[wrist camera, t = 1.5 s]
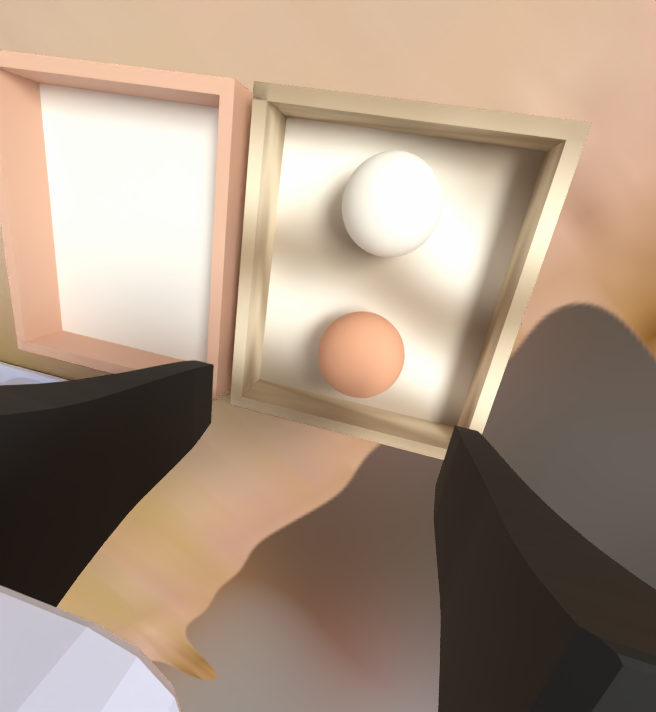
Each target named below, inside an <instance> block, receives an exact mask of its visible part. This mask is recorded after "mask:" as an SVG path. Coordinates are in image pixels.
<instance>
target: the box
mask: <svg viewBox="0 0 656 712" xmlns="http://www.w3.org/2000/svg"><path fill="white" fill-rule="evenodd" d="M591 124H592V122H585V121H577V120H568V119H560V118H552V117H544V116H536V115H527V114H519V113H511V112H503V111H495V110H487V109H478V108H470V107H462V106H454V105H446V104H438V103H429V102H421V101H413V100H405V99H397V98H388V97H380V96H372V95H364V94H356V93H348V92H339V91H331V90H323V89H315V88H307V87H299V86H290V85H282V84H274V83H266V82H258V81H254V88H253V102H252V115H251V128H250V142H249V155H248V168H247V182H246V195H245V209H244V222H243V235H242V249H241V262H240V275H239V289H238V302H237V315H236V329H235V342H234V355H233V369H232V382H231V395H230V404H231V405H235V406H239V407H243V408H246V409H250V410H254V411H258V412H262V413H266V414H269V415H273V416H277V417H281V418H285V419H289V420H292V421H296V422H300V423H304V424H308V425H312V426H315V427H319V428H323V429H327V430H331V431H335V432H338V433H342V434H346V435H350V436H354V437H358V438H361V439H365V440H369V441H373V442H377V443H381V444H384V445H388V446H392V447H396V448H400V449H404V450H407V451H411V452H415V453H419V454H423V455H427V456H430V457H435V458H438V459H442V460H444V458H445V455H446V452H447V448H448V445H449V442H450V439H451V436H452V433H453V430H454V426H455V425H456V426H460V427H464V428H468V429H472V430H476V431H478V432H479V433H481V434H482V433H483V430H484V427H485V424H486V421H487V418H488V415H489V413H490V410H491V407H492V404H493V401H494V398H495V396H496V393H497V390H498V387H499V384H500V382H501V379H502V376H503V373H504V370H505V367H506V365H507V362H508V359H509V356H510V353H511V350H512V348H513V345H514V342H515V339H516V336H517V333H518V331H519V328H520V325H521V322H522V319H523V316H524V314H525V311H526V308H527V305H528V302H529V299H530V297H531V294H532V291H533V288H534V285H535V282H536V280H537V277H538V274H539V271H540V268H541V265H542V263H543V260H544V257H545V254H546V251H547V248H548V246H549V243H550V240H551V237H552V234H553V231H554V229H555V226H556V223H557V220H558V217H559V214H560V212H561V209H562V206H563V203H564V200H565V197H566V195H567V192H568V189H569V186H570V183H571V180H572V178H573V175H574V172H575V169H576V166H577V163H578V161H579V158H580V155H581V152H582V149H583V146H584V144H585V141H586V138H587V135H588V132H589V129H590V127H591ZM393 150H398V151H405V152H409V153H412V154H414V155H416V156H418V157H420V158H421V159H423V160H424V161H425V162H426V163H427V164H428V165H429V166H430V167H431V168H432V169H433V171H434V172H435V174H436V176H437V178H438V180H439V183H440V186H441V190H442V198H443V203H442V212H441V216H440V219H439V222H438V224H437V227H436V229H435V230H434V232H433V233H432V235H431V236H430V237H429V239H428V240H427V241H426V242H425V243H424V244H423V245H421V246H420V247H419V248H418V249H416V250H414V251H412V252H410V253H408V254H406V255H402V256H398V257H380V256H376V255H373V254H370V253H368V252H366V251H365V250H363V249H362V248H360V247H359V246H358V245H357V244H356V243H355V242H354V241H353V239H352V238H351V237H350V235H349V233H348V232H347V230H346V227H345V225H344V221H343V216H342V198H343V193H344V190H345V187H346V184H347V182H348V180H349V178H350V177H351V175H352V173H353V172H354V171H355V170H356V168H357V167H358V166H359V165H360V164H362V163H363V162H364V161H365V160H367V159H368V158H370V157H372V156H374V155H376V154H378V153H381V152H385V151H393ZM359 311H360V312H371V313H375V314H377V315H380V316H382V317H383V318H385V319H387V320H388V321H389V322H390V323H391V324H392V325H393V326H394V327H395V328H396V329H397V331H398V332H399V334H400V336H401V338H402V341H403V344H404V351H405V360H404V365H403V368H402V371H401V373H400V375H399V377H398V379H397V380H396V381H395V383H394V384H393V385H392V386H391V387H390V388H388V389H387V390H386V391H384V392H382V393H380V394H378V395H376V396H373V397H368V398H355V397H350V396H347V395H345V394H342V393H340V392H339V391H337V390H336V389H334V388H333V387H332V386H331V385H330V384H329V383H328V382H327V380H326V379H325V378H324V376H323V374H322V372H321V369H320V366H319V361H318V348H319V343H320V340H321V338H322V336H323V334H324V332H325V330H326V329H327V328H328V326H329V325H330V324H331V323H332V322H334V321H335V320H336V319H338V318H339V317H341V316H343V315H345V314H348V313H352V312H359Z"/></svg>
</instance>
